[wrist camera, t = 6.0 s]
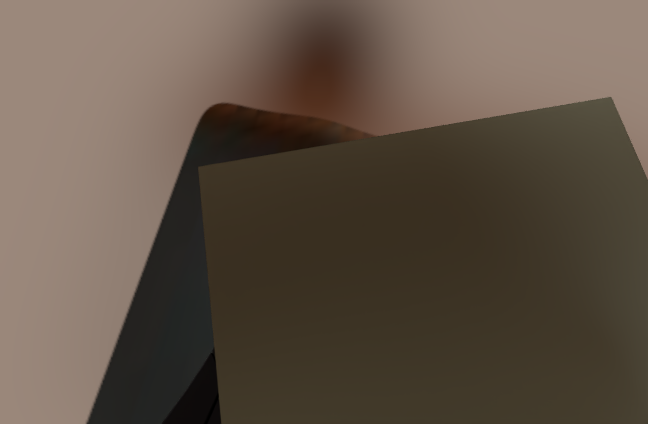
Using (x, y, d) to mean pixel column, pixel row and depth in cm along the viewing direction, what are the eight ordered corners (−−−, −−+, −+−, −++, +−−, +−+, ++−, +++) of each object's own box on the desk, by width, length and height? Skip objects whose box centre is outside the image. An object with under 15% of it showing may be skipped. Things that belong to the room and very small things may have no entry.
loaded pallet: (421, 330, 15) (1033, 755, 2) (300, 353, 15) (128, 991, 2) (393, 211, 16) (654, 15, 3) (282, 231, 16) (108, 103, 3)
